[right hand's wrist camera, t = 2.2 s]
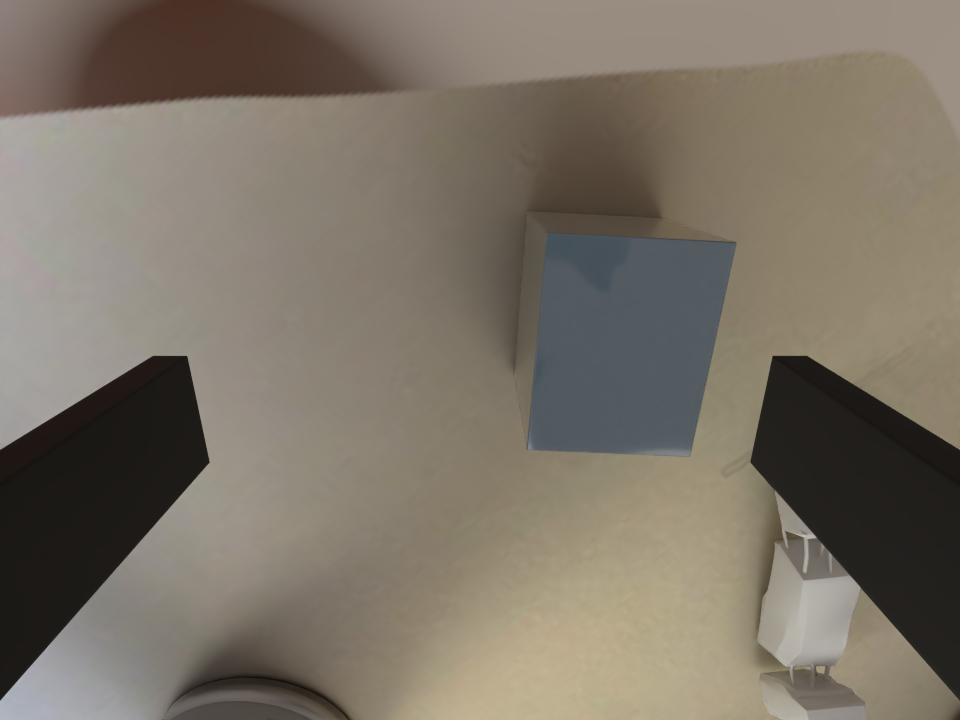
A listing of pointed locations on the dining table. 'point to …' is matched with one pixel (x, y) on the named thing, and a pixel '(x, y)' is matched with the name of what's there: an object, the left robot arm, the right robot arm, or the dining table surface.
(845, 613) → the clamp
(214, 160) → the dining table surface
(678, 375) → the blue gray block
